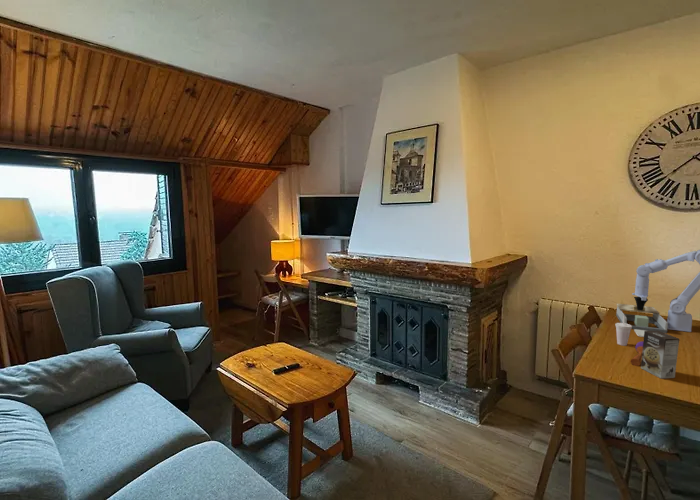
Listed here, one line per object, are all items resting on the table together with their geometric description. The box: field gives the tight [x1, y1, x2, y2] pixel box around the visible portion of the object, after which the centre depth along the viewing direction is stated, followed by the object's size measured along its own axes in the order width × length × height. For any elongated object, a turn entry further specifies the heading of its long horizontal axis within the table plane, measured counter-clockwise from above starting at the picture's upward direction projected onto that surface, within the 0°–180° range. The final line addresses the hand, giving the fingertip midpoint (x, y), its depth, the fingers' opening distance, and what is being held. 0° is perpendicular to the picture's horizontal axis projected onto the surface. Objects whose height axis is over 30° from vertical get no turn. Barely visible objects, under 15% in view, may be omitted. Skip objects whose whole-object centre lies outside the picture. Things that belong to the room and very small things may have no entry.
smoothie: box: [614, 316, 633, 347], centre depth 172 cm, size 6×6×14 cm
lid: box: [616, 303, 661, 315], centre depth 209 cm, size 18×13×3 cm
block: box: [634, 314, 649, 327], centre depth 198 cm, size 5×5×5 cm
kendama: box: [630, 340, 644, 367], centre depth 156 cm, size 6×6×20 cm
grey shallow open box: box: [615, 306, 668, 334], centre depth 201 cm, size 18×25×6 cm
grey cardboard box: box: [640, 331, 680, 379], centre depth 142 cm, size 9×6×16 cm
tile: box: [633, 329, 645, 338], centre depth 184 cm, size 10×10×1 cm
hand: (639, 310), depth 203 cm, fingers closed
